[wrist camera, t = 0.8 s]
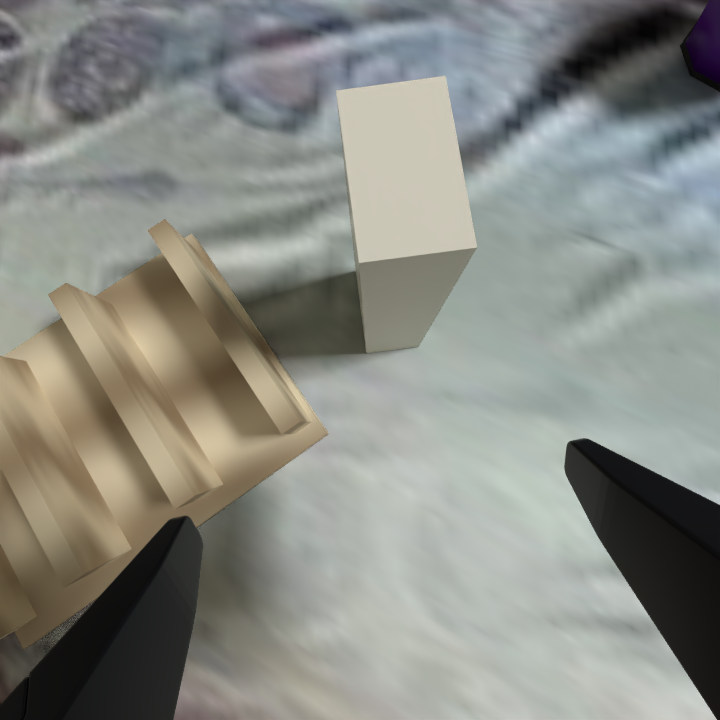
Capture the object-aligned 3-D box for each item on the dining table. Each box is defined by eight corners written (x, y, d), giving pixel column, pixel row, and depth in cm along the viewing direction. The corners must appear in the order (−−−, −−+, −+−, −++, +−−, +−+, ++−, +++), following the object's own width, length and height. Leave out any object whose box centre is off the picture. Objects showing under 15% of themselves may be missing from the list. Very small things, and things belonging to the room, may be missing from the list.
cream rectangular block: (418, 346, 23) (477, 247, 10) (366, 353, 23) (359, 263, 10) (406, 264, 24) (445, 75, 11) (355, 270, 24) (336, 90, 11)
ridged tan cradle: (329, 433, 22) (318, 435, 18) (39, 639, 21) (-49, 696, 17) (198, 241, 24) (160, 200, 20) (-72, 418, 23) (-178, 416, 19)
